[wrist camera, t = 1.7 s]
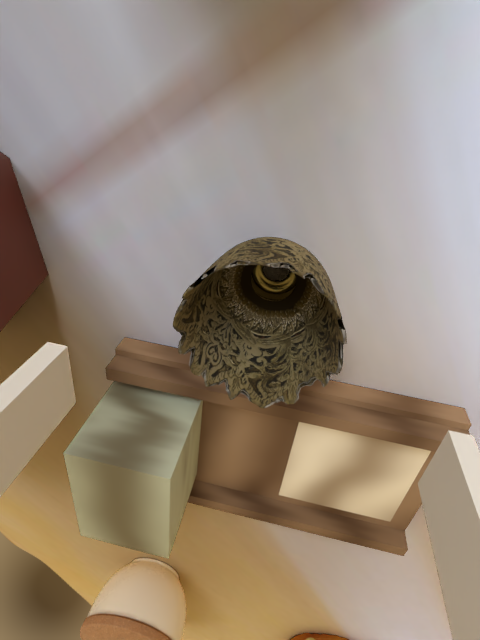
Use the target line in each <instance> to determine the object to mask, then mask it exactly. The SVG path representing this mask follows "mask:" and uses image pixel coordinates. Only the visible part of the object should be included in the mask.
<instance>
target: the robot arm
mask: <svg viewBox="0 0 480 640" xmlns="http://www.w3.org/2000/svg"><path fill="white" fill-rule="evenodd" d="M75 403H76V398H75V392H74V385H73V379H72V372H71V366H70V359H69V353H68V346H64V345H60V344H55V343H51V342H47V343H46V344H45V345H44V346H43V347H41V348H40V349H39V350H38V351H37V352H36V353H35V354H34V355H33V356H31V357H30V358H29V359H28V360H27V361H26V362H25V363H24V364H23V365H22V366H20V367H19V368H18V369H17V370H16V371H15V372H14V373H13V374H12V375H10V376H9V377H8V378H7V379H6V380H5V381H4V382H3V383H2V384H1V385H0V497H1V496H2V495H3V493H4V492H5V491H6V490H7V488H8V487H9V486H10V485H11V483H12V482H13V481H14V480H15V478H16V477H17V476H18V475H19V473H20V472H21V471H22V470H23V468H24V467H25V466H26V465H27V463H28V462H29V461H30V460H31V458H32V457H33V456H34V455H35V453H36V452H37V451H38V450H39V448H40V447H41V446H42V445H43V443H44V442H45V441H46V440H47V438H48V437H49V436H50V435H51V433H52V432H53V431H54V430H55V428H56V427H57V426H58V425H59V423H60V422H61V421H62V420H63V418H64V417H65V416H66V415H67V413H68V412H69V411H70V410H71V408H72V407H73V406H74V405H75ZM418 487H419V491H420V496H421V500H422V505H423V509H424V514H425V518H426V522H427V527H428V531H429V536H430V540H431V545H432V549H433V554H434V558H435V562H436V567H437V571H438V576H439V580H440V585H441V589H442V594H443V598H444V602H445V607H446V611H447V616H448V620H449V625H450V629H451V634H452V638H453V640H480V451H479V448H478V446H477V443H476V441H475V439H474V436H473V435H468V434H464V433H459V432H454V431H450V430H448V432H447V434H446V435H445V437H444V439H443V440H442V442H441V444H440V446H439V447H438V449H437V451H436V453H435V454H434V456H433V458H432V459H431V461H430V463H429V465H428V466H427V468H426V470H425V472H424V473H423V475H422V477H421V478H420V480H419V482H418Z"/></svg>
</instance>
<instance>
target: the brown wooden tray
mask: <svg viewBox="0 0 480 640" xmlns="http://www.w3.org/2000/svg"><path fill="white" fill-rule="evenodd" d="M115 351H116V355H115V357H114V358H113V359H112V360H111V362H110V363H109V364H108V366H107V367H106V376H107V379H108V380H113V381H114V382H113V383H112V385H111V386H110V388H109V389H108V390H107V392H106V393H105V395H104V396H103V398H102V399H101V400H100V402H99V403H98V405H97V406H96V407H95V409H94V410H93V412H92V413H91V415H90V416H89V417H88V419H87V420H86V422H85V423H84V424H83V426H82V427H81V429H80V430H79V432H78V433H77V434H76V436H75V437H74V439H73V440H72V441H71V443H70V444H69V446H68V447H67V449H66V450H65V451H64V453H63V454H64V459H65V464H66V469H67V473H68V478H69V483H70V488H71V492H72V497H73V502H74V507H75V511H76V516H77V521H78V526H79V530H80V535H81V536H84V537H88V538H92V539H96V540H99V541H103V542H107V543H111V544H115V545H118V546H122V547H126V548H130V549H133V550H137V551H141V552H145V553H148V554H152V555H156V556H160V557H163V558H167V559H169V556H170V553H171V550H172V547H173V544H174V541H175V538H176V535H177V532H178V529H179V526H180V523H181V520H182V517H183V514H184V511H185V508H186V505H187V502H189V503H193V504H197V505H201V506H205V507H209V508H213V509H217V510H221V511H225V512H229V513H233V514H237V515H241V516H245V517H249V518H253V519H257V520H261V521H265V522H269V523H273V524H277V525H281V526H285V527H289V528H293V529H297V530H301V531H305V532H309V533H313V534H317V535H321V536H325V537H329V538H333V539H337V540H341V541H345V542H349V543H353V544H357V545H361V546H365V547H369V548H373V549H377V550H381V551H385V552H389V553H393V554H397V555H401V556H404V554H405V553H406V551H407V550H408V548H407V542H406V536H405V529H406V528H407V526H408V525H409V523H410V521H411V520H412V518H413V517H414V515H415V513H416V512H417V510H418V509H419V507H420V506H421V504H422V500H421V496H420V491H419V487H418V482H419V480H420V478H421V477H422V475H423V473H424V472H425V470H426V468H427V466H428V465H429V463H430V461H431V459H432V458H433V456H434V454H435V453H436V451H437V449H438V447H439V446H440V444H441V442H442V440H443V439H444V437H445V435H446V434H447V432H448V430H450V431H454V432H459V433H464V434H468V435H470V434H469V431H468V430H469V428H470V427H471V423H470V420H469V418H468V416H467V413H466V411H465V408H461V407H456V406H451V405H446V404H442V403H437V402H432V401H427V400H422V399H418V398H413V397H408V396H403V395H398V394H394V393H389V392H384V391H379V390H375V389H370V388H365V387H360V386H355V385H351V384H346V383H341V382H336V381H332V380H329V382H328V384H327V385H326V386H325V387H323V386H322V383H321V381H319V380H316V381H315V382H314V383H313V384H312V385H311V386H304V387H302V388H301V389H300V392H299V399H298V400H297V401H296V402H295V403H294V404H285V402H282V401H280V402H278V403H275V404H273V405H271V406H270V407H267V408H260V407H259V406H257V405H256V404H254V403H252V402H250V401H249V399H248V397H247V396H246V395H244V394H242V393H240V394H239V395H238V396H237V397H236V398H234V399H233V400H230V399H229V396H228V393H227V391H226V386H225V382H223V383H222V384H220V385H214V386H210V387H206V386H205V383H204V378H202V376H201V375H200V376H197V375H194V374H193V373H192V372H191V369H190V366H189V362H190V355H191V352H188V353H187V354H185V355H184V354H179V353H178V348H174V347H169V346H164V345H159V344H155V343H150V342H145V341H140V340H136V339H131V338H126V337H125V338H124V339H123V340H122V341H121V343H120V344H119V345H118V346H117V348H116V349H115Z"/></svg>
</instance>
